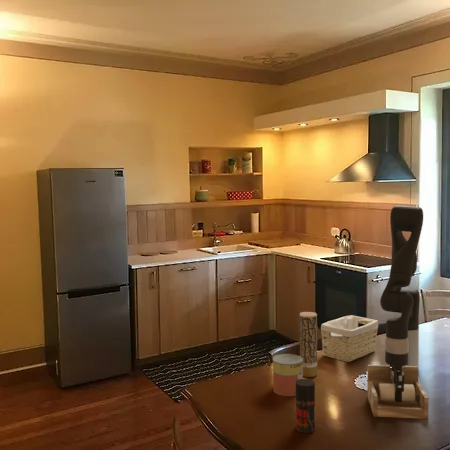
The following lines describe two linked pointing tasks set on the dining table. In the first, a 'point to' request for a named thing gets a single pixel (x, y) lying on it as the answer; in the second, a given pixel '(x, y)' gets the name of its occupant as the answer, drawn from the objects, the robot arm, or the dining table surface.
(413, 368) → the holder
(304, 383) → the deodorant
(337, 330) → the storage basket
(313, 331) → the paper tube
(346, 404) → the dining table surface
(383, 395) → the white cylinder
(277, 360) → the canned food
